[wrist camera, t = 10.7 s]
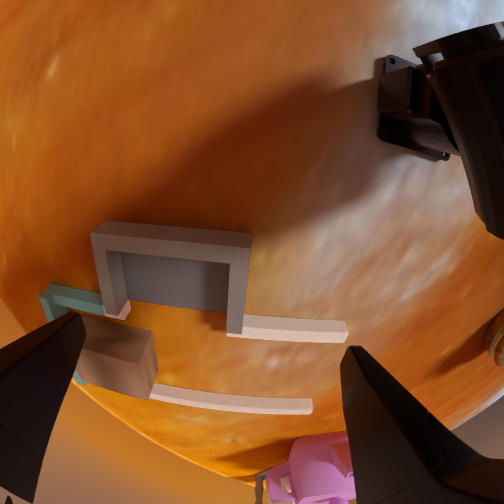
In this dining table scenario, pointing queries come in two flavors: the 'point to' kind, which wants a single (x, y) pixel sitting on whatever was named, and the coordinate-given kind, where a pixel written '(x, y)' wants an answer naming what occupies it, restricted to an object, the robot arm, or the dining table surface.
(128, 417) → the dining table surface
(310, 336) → the walled track with bay
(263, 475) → the skyscraper
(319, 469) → the teakettle
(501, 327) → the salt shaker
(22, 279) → the dining table surface
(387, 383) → the robot arm
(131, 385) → the block
